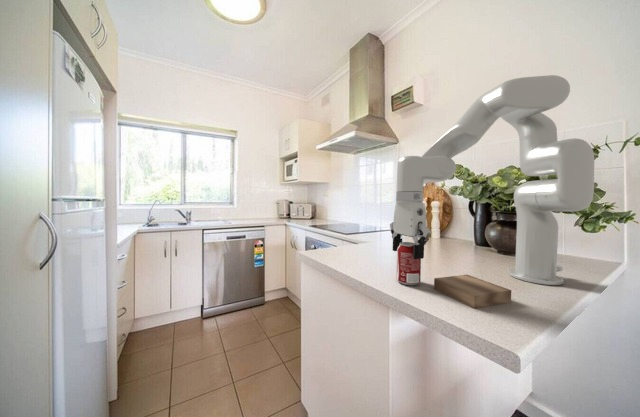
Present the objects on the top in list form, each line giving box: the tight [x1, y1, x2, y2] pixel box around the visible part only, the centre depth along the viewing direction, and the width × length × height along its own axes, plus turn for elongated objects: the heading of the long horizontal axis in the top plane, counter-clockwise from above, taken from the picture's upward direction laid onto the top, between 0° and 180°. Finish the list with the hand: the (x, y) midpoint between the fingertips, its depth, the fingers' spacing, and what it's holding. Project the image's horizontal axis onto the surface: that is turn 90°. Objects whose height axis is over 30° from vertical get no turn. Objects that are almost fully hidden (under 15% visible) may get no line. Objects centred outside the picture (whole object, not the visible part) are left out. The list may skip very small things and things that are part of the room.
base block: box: [433, 274, 512, 309], centre depth 59 cm, size 12×12×3 cm
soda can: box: [396, 241, 422, 287], centre depth 67 cm, size 7×7×12 cm
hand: (407, 254), depth 67 cm, fingers open, 9 cm apart
